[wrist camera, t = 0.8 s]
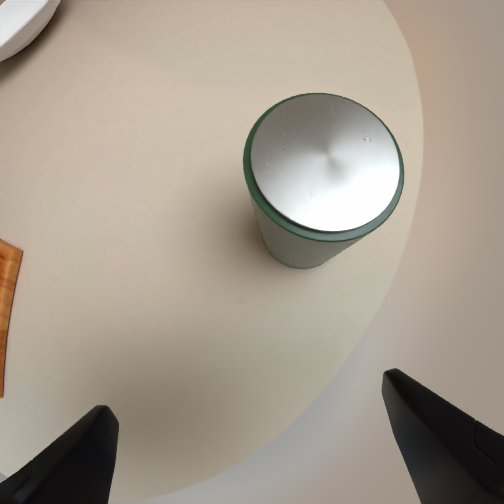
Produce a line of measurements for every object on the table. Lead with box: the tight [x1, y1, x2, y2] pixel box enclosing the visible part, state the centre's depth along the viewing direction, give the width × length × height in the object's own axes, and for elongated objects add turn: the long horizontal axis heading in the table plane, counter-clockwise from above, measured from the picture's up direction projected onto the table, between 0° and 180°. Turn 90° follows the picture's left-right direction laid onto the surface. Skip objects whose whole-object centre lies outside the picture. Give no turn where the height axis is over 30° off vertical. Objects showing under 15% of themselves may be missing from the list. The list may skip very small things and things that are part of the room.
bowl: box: [0, 0, 61, 62], centre depth 27 cm, size 20×20×6 cm
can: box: [243, 93, 404, 269], centre depth 17 cm, size 6×6×12 cm
